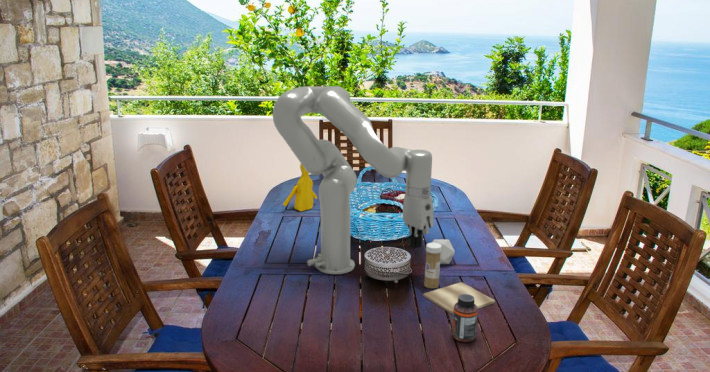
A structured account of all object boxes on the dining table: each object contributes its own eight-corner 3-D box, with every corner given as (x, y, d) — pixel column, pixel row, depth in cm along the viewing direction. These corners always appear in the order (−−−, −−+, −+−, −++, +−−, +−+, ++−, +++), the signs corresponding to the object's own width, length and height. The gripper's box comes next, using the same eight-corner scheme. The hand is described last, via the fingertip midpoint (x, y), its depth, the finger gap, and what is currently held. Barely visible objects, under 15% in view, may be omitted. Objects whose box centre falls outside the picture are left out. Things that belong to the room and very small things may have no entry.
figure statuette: (314, 203, 252) (314, 154, 246) (325, 207, 246) (325, 157, 240) (280, 211, 241) (278, 160, 234) (290, 216, 235) (289, 164, 229)
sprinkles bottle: (421, 285, 175) (423, 244, 172) (429, 281, 179) (431, 240, 175) (433, 290, 173) (435, 248, 169) (442, 285, 176) (444, 244, 172)
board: (455, 316, 158) (455, 313, 158) (423, 296, 169) (423, 293, 169) (494, 302, 166) (495, 300, 165) (461, 284, 177) (461, 281, 177)
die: (447, 271, 187) (462, 246, 188) (424, 257, 187) (439, 232, 188) (442, 270, 195) (457, 246, 196) (421, 256, 195) (435, 232, 196)
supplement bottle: (449, 331, 150) (451, 291, 147) (471, 330, 151) (474, 291, 148) (454, 343, 145) (457, 303, 141) (478, 342, 145) (481, 302, 142)
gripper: (444, 195, 171) (440, 252, 176) (412, 183, 183) (410, 237, 188) (424, 199, 167) (421, 257, 172) (393, 186, 179) (391, 241, 184)
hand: (415, 246), depth 180 cm, fingers closed
